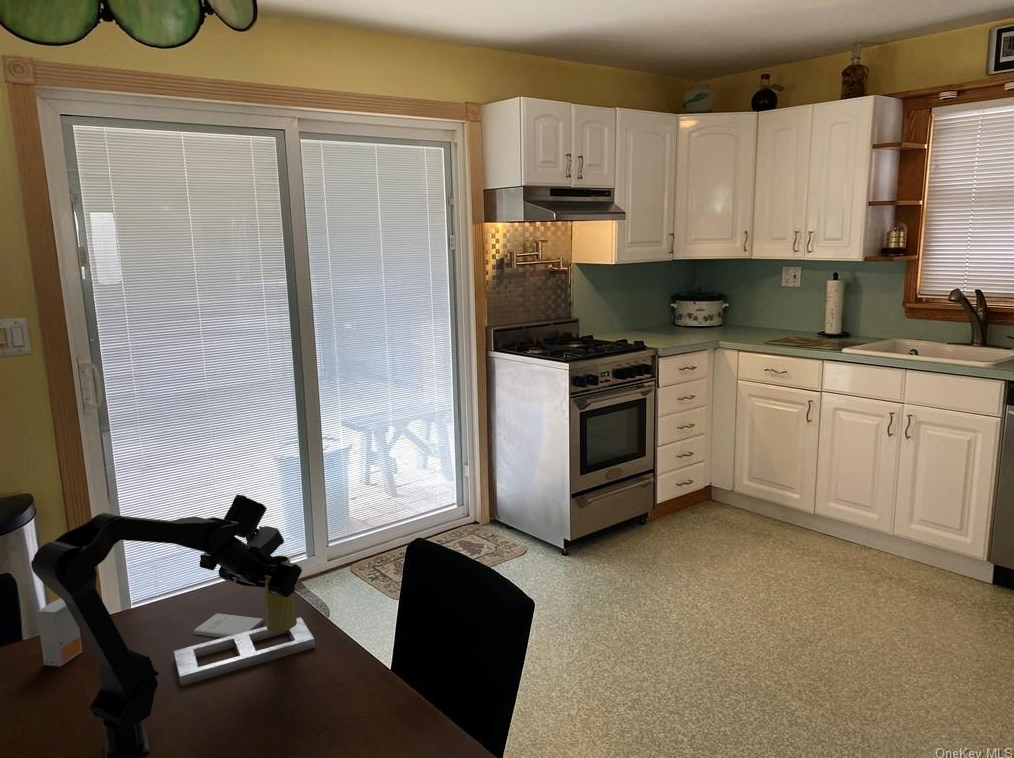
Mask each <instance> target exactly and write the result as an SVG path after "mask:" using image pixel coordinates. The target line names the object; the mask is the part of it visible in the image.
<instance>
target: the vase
mask: <svg viewBox="0 0 1014 758" xmlns="http://www.w3.org/2000/svg"><path fill="white" fill-rule="evenodd" d="M272 557H274V558H273V560H272V562H271V563H269V564H268V565H272V566H276V565H277V564H279V563H281V562H283V561H286V562H290V563H291V558H290V557H289V556H287V555H282V554H281V555H279V554H278V555H272ZM264 577H265V576H264ZM270 579H271V578H268V577H266V580H265V587H264V589H265V591H264V592H265V594H264V595H265V616H266V618H265V619H266V624H265V625H266V626H265V627H266V628H267V629H268V630H269V631H272V632H283V631H287V630H289V629H291V628H293V627H294V626H295V625H296V624H297V620H296V618H297V615H296V607H295V599H294V598H295V597H294V593H293V594H290V596H288V597H283V596H279V595H275V594H272V593H268V592H269V591H268V583H269V581H270Z"/></svg>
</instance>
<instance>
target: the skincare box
mask: <svg viewBox="0 0 1014 758" xmlns="http://www.w3.org/2000/svg"><path fill="white" fill-rule="evenodd" d="M36 613H37V614H36V615H37V620H38V621H37V622H38V630H39V637H40V644H41V652H42V659H43V665H44V666H51V667H52V666H53V667H62V666H63V665H65V664H66V663H68V662H70V661H71V660H72V659H74V658H76V657H77V656H79V654H81V653H83V648H82V640H81V630H80V629H79V627H78V625H77V623H76V622H75V620H74V618H73V616H72V615H71V613H70V611H69V609H68V607H67V606H66V604H65V602H64V601H63V600H62V599H61V598H60V597H59V598H58V599H56V600H54V601H52V602H50V603H48V604H47V605H45V606H44V607H42V608H41V609H39V610H37V612H36Z"/></svg>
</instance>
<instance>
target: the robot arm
mask: <svg viewBox="0 0 1014 758" xmlns="http://www.w3.org/2000/svg"><path fill="white" fill-rule="evenodd" d="M266 511H267V507H266V506H265V505H264V503H261V502H258V501H256V500H254V499H252V498H249V497H247V496H245V495H243V494H236V495H235V496H234V498H233V501H232V504H231V505H230V507H229V509H228V510H227V511H226V513H225V515H224V517H223V518H220V517H215V516H213V517H209V518H203V517H198V516H190V517H189V516H188V517H187V516H186V517H181V518H180V517H179V518H177V519H172V520H171V519H170V520H168V519H167V520H165V519H155V518H148V517H147V518H145V517H134V516H125V515H117V514H112V513H108V512H101V513H100V514H97V515H95V516H94V517H92V518H91V519H90V520H88V521H87V522H86V523H83V524H81V525H79V526H76V527H75V528H73V529H71V530H68V531H66V532H64V533H63V534H61V535H60V536H58V537H57V538H55V539H54V540H53V541H49V542H47V543H45V544H43V545H42V546H41V547H40V548H38V549H37V551H36V552H35V553H34V555H33V559H32V560H31V561H30V566H31V570H32V572H33V573H34V575H35V576H36V577H37V578H38V579H39V580H40V581H41V582H42V583H43V584H44V585H45V586H46V587H47V588H48V589H49V590H50V591H52V592H53V593H54V594H55V595H56V596H58V597H59V598H61V599H62V600H63V601H64V602H65V604H66V606H67V607H68V609H69V611H70V613H71V615H72V616H73V618H74V620H75V622H76V623H77V625H78V627H79V630H80V633H81V634H82V635H83V637H84V639H85V641H86V643H87V645H88V646H89V648H90V650H91V652H92V654H93V655H94V656H95V658H96V660H97V662H98V663H99V674H98V680H99V683H100V686H101V688H100V689H99V691H98V693H97V694H96V696H95V698H94V700H93V701H92V703H91V704H90V705H89V710H90V712H91V714H92V715H93V717H95V718H99V719H101V720H102V723H103V731H104V738H105V742H103V743H104V744H103V745H104V746H103V747H104V750H103V752H104V758H138V757H141V756H144V755H146V754H148V753H149V752H150V746H149V739H148V738H149V737H148V732H147V729H144V727H145V726H144V721H143V720H146V719H147V718H148V717H150V716H151V714H152V709H153V705H154V698H155V694H156V691H157V689H158V687H159V681H158V678H157V676H159V675H160V673H159V672H158V671H156V670H155V668H154V666H153V662H152V660H151V658H150V656H148V655H145V654H143V653H141V652H138V651H135V650H133V649H130V648H128V646H127V644H126V642H125V640H124V638H123V636H122V635H121V633H120V630H119V629H118V627H117V625H116V623H115V622H114V620H113V618H112V616H111V614H110V612H109V611H108V608H107V606H106V605H105V603H104V601H103V600H102V597H101V596H100V593H99V592H98V589H97V578H98V572H97V569H96V567H98V566H99V565H100V564H101V563H103V562H104V560H105V559H107V557H108V556H109V554H110V552H111V550H112V549H113V547H114V546H115V544H117V543H118V542H120V541H129V542H131V541H133V542H143V543H144V542H145V543H158V544H160V543H161V544H172V545H178V546H180V547H185V548H188V549H191V550H195V551H199V552H202V554H200V556H199V557H200V561H199V567H200V568H202V569H205V570H209V571H214V570H215V569H216V567H217V566H220V567H219V569H218V577H219V578H221V579H223V580H224V581H225V582H226V581H227V582H231V583H235V584H237V585H241V586H244V587H245V586H246V587H255V588H265V580H266V577H268V578H271V579H270V581H269V583H268V591H269V592H268V593H272V594H275V595H279V596H283V597H288V596H290V594H293V595H294V593H295V592H296V587H295V586H296V584H297V582H298V580H299V578H300V576H301V574H302V572H303V569H302V567H301V566H300V565H298V564H297V563H293V562H291V561H290V562H286V561H283V562H281V563H279V564H277V565H276V566H272V565H268V564H269V563H271V562H272V560H273V558H274V557H273V554H274V553H275V551H276V550H278V548H279V547H280V546H282V545H283V544H284V543H285V540H284V538H283V535H282V534H281V532H280V530H279V529H278V528H277V527H272V526H269V525H268V526H267V525H264V526H259V525H260V523H261V520H262V519H263V517H264V515H265V514H266ZM258 526H259V527H258ZM236 536H237V537H236ZM238 537H239V538H243V539H245V541H246V543H245V542H243V541H242V540H240V539H239V538H238ZM203 552H204V553H203ZM264 576H265V577H264Z"/></svg>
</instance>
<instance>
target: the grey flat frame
mask: <svg viewBox="0 0 1014 758" xmlns="http://www.w3.org/2000/svg"><path fill="white" fill-rule="evenodd" d="M296 620H297V624H296V625H295V626H294V627H293V628H291V629H289V630H287V631H283V632H272V631H269V630H268V629H267V628H266V626H262V627H258V628H257V629H255V630H251V631H247V632H243V633H239V634H236V635H232V636H228V637H224V638H218V639H213V640H210V641H207V642H206V641H205V642H202V643H198V644H195V645H194V644H193V645H191V646H188V647H183V648H180V649H175V650H174V651H173V654H174V661H175V666H176V670H177V675H178V680H179V683H180V687H181V686H186V685H189V684H194V683H196V682H199V681H203V680H204V681H205V680H207V679H210V678H214V677H217V676H221V675H224V674H229V673H231V672H235V671H238V670H241V669H244V668H249V667H251V666H255V665H259V664H261V663H265V662H269V661H272V660H276V659H280V658H283V657H285V656H286V657H287V656H289V655H293V654H296V653H301V652H304V651H306V650H311V649H314V648H315V647H316V645H315V637H314V636H313V634H312V633H311V632H310V629H309V628H308V627H307V624H306V623H305V622H304V619H302V617H301V616H300V617H296ZM283 634H288V637H289V638H290V640H291V641H288V642H285V643H280V644H277V645H273V646H270V647H267V648H263V649H259V650H256V648H255V646H254V644H253V643H254V642H258V641H262V640H265V639H269V638H273V637H277V636H280V635H283ZM232 648H235V651H236V654H237V656H234V657H231V658H227V659H224V660H219V661H216V662H212V663H209V664H206V665H202V666H198V661H197V658H200V657H204V656H206V655H207V656H208V655H211V654H215V653H218V652H223V651H226V650H229V649H232Z"/></svg>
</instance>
